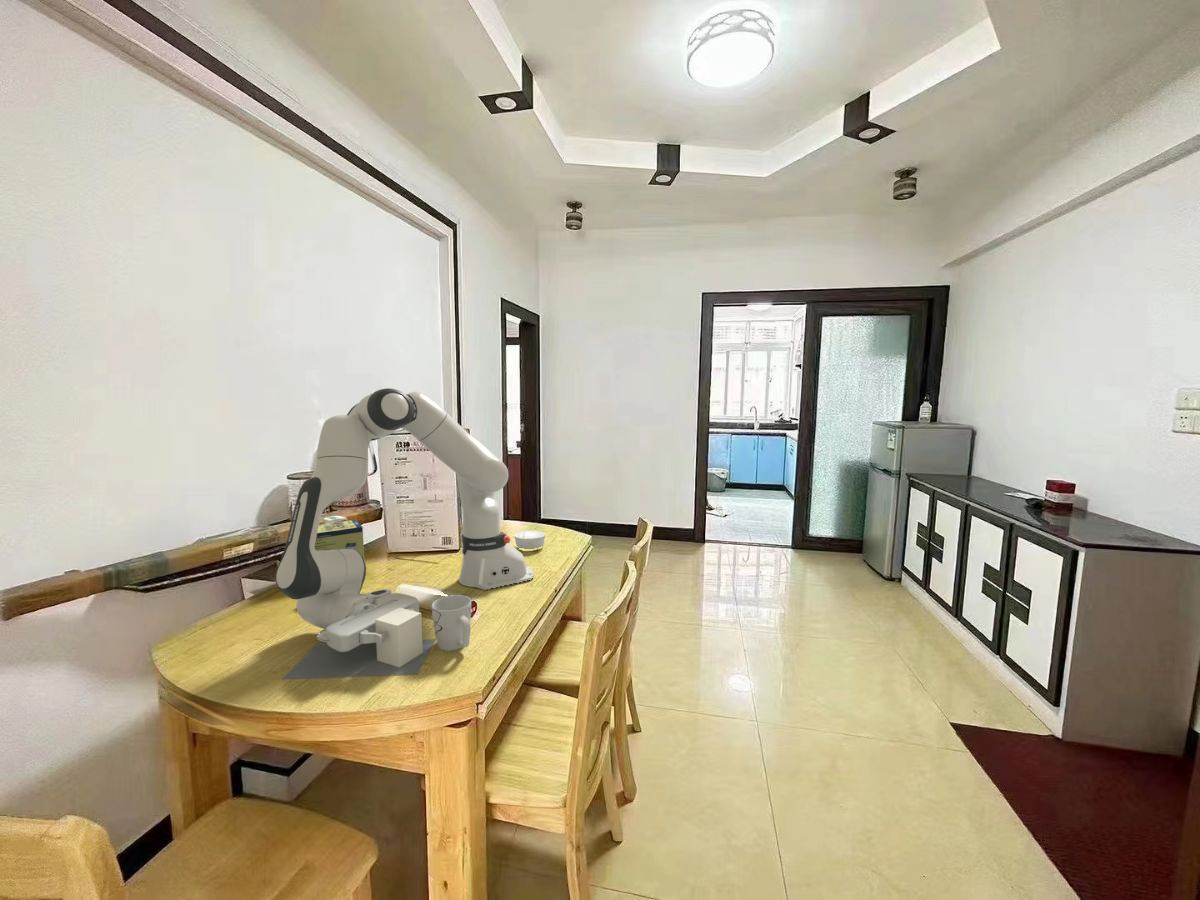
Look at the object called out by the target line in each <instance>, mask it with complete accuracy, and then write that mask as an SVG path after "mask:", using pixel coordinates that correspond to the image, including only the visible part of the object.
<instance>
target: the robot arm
mask: <svg viewBox="0 0 1200 900" xmlns="http://www.w3.org/2000/svg"><path fill="white" fill-rule="evenodd" d="M400 429H402V430H405V431H407V432H409V433H410V434H411V435H412V437H414V438H415V439H416V440H417V441H418V442H419V443H421V444H422V445H423V447H425V448H426V449H427V450H428V451H430V453H432V454H433V455H434V456H435V457H436V458H437V459H438V460H439V461H440V462H443V464H445V466H447V467H448V468H450V469H451V470H452V471H453V472H455V475H456V481H457V487H458V492H459V498H460V503H461V509H462V510H461V511H462V534H461V541H460V543H461V544H460V545H461V546H460V547H461V549H462V561H461V569H460V574H459V577H458V582H459V584H461V585H463V586H466V587H469V588H478V589H480V590H484V591H486V590H487V589H488V590H492V589H491V588H493V589H497V588H496V587H498V588H501V587H500V586H502V587H505V586H504V585H507V586H509V585H508V584H512V585H514V584H513V583H517V582H521V581H526V580H530V579H532V578H533V579H534V577H533V574H534V570H533V569H532V567H530V566H529V565H528V564H527V562H526V559H525V557H524V555H523V553H522V551H520V550H519V549H517V548H515V547H514V546H512V545H511V544H510V542H511V537H510V536H509V535H508V534H507V533H506V532H504V531H501V508H500V507H501V506H500V504H499V502H498V498H497V494H496V493H497V492H499V491H500V490H502V489H503V488H504V487H505V486H506V484H507V483H508V480H509V469H508V467H507V465H506V464H505V463H504V462H503V461H502V460H501V459H500V458H499V457H498V456H496V454H494V453H493V452H492V451H491V449H490V450H489V449H488V447H486V446H485V445H483V443H481V442H480V441H479V440H478V439H477V438H475V437H474V436H473V435H471V434H470V433H469V432H467V431H466V429H465V428H463V426H461V425H460V423H458V421H456V420H455V419H454V418H453V416H451V415H450V414H449V413H448V412H447V411H446V410H445V409H443V408H442V406H440V405H439V404H438V403H436V402H435V401H434V400H433V399H431V398H430V397H429V396H427V395H425V394H424V393H422V392H419V391H412V392H408V393H404V392H403V391H401V390H398V389H396V388H382V389H378V390H375V391H374V392H373V393H370V394H368V395H366V396H365V397H363V398H361V400H360V401H359V402H358V403H356V404H355V405H353V406H352V407H351V408H350V410H349V411H348V413H347V414H339V415H337V414H336V415H333V416H331V417H329V418H327V419H326V420H325V421H324V423H323V424H322V427H321V431H320V435H319V440H318V443H317V452H316V462H315V464H316V465H315V468H314V471H313V473H312V475H311V477H310V478H308V479H306V480H305V481H304V482H303V483H302V485H301V486H300V488H299V491H298V495H297V498H296V500H295V505H294V510H293V513H292V518H291V522H290V525H289V530H288V534H287V537H286V543H285V547H284V550H283V553H282V556H281V558H280V560H279V562H278V565H277V568H276V571H275V576H274V577H275V578H274V579H275V584H276V586H277V588H278V590H280V592H281V593H282V594H284V596H287V598H289V599H292V600H294V601H295V600H296V602H297V603H296V611H297V613H298V615H299V616H300V618H302V620H304V621H305V622H307V623H308V624H310V625H312V626H315V627H316V628H317V627H318V628H320V629H322V630H321V631H319V632H318V634H317V635H316V639H317V641H320V642H322V643H327V645H328V646H330V647H331V648H333V649H335V650H337V651H339V652H347V651H350V650H352V649H354V648H355V647H357V646H359V645H361V644H367V643H374V642H375V643H378V644H380V643H382V642H384V641H386V633H385V632H381V631H379V632H377V633H376V627H375V619H377V618H379V617H381V616H383V615H385V614H387V613H389V612H391V611H393V610H395V609H397V608H399V607H400V608H404V609H408V610H412V611H415V612H419V613H420V604H419V599H418V598H417V597H416V596H412V595H410V594H406V593H401V592H393V593H392V590H391V589H388V588H384V589H380V590H376V591H371V592H361V590H362V588H363V586H364V582H365V579H366V574H367V565H366V561H365V558H364V559H363V557H362V555H361V554H360V553H359V552H358V551H356V550H355V549H333V550H320V551H316V550H315V547H314V546H315V541H316V536H317V532H318V527H319V525H320V522H321V517H322V514H323V512H324V511H325V508H327V507H328V506H329V505H331V504H332V503H334V502H336V501H339V500H341V499H344V498H347V497H349V496H352V495H353V494H355V493H356V492H358V491H359V490H360V489H361V488H362V487H363V486H364V485H365V483H366V481H367V478H368V472H369V447H370V443H371V442H372V441H376V440H378V439H379V440H380V439H382V438H384V437H385V438H386V437H387V436H390V435H392V434H394V433H395V431H398V430H400ZM533 579H532V580H533ZM530 581H531V580H530ZM526 582H527V581H526ZM521 583H522V582H521ZM517 584H518V583H517Z"/></svg>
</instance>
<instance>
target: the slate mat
mask: <svg viewBox="0 0 1200 900" xmlns="http://www.w3.org/2000/svg"><path fill="white" fill-rule="evenodd" d="M436 641H437V639H436V638H435V639H434V638H431V639H428V638H427V639H422V643H423V653H421V654H420V655H418V656H417V657H415V658H414V659H412V660H410V661H409V662H407V663H406V664H404V665H403V666H401V667H396V666H393V665H390V664H387V663H384V662H381V661H378V660H377V647H376V643H375V642H374V643H367V644H361V645H359V646H357V647H355V648H354V649H352V650H350V651H347V652H339V651H337V650H335V649H333V648H331V647H330V646H328V645H327V643H326V642H317V643H316V644H315V646H313V647H312V648H311V649H310V650H309V652H307V653H306V654H305V655H304V656H303V657H302V658H301V660H299V661H298V662H297V664H295V665H294V666H293V668H291V669H290V670H289V671H288V672H287V674H285V675H284V676H283V677H282V679H281V680H283V681H284V680H304V679H305V680H306V679H333V678H334V679H335V678H337V679H338V678H357V677H358V678H359V677H362V678H363V677H383V676H384V677H386V676H387V677H388V676H389V677H390V676H411V675H412V676H414V675H419V673H420V671H421V668H422V667H423V665H424V663H425V662H426V659H427V657H428V656H429V654H430V652H431V650H432V647H433V646H434V644H435V643H436Z"/></svg>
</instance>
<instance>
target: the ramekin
mask: <svg viewBox="0 0 1200 900" xmlns="http://www.w3.org/2000/svg"><path fill="white" fill-rule="evenodd" d="M514 539H515V544H516V547H517V546H518V547H519V548H524V549H534V548H539V547H541V546H543V547H544V544H545V539H546V533H545V532H544V531H541V530H524V531H520V532H517V533H515V534H514Z"/></svg>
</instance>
